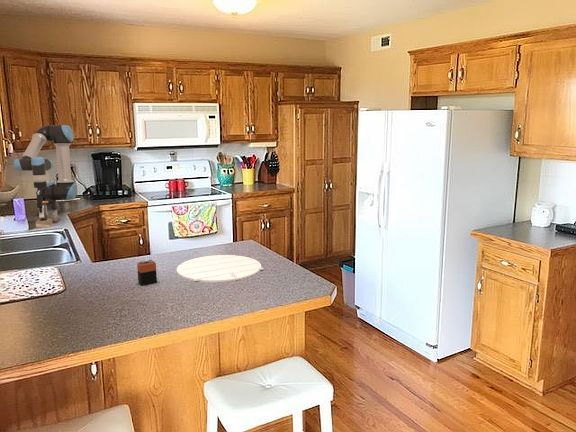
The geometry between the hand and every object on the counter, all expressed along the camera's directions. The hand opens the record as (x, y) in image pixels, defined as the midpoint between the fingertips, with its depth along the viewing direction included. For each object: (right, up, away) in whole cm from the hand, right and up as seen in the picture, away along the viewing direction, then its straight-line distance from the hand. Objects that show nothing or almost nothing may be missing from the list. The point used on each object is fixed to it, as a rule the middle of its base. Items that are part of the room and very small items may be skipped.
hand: (43, 216), depth 310 cm
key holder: (0, -7, +1) cm, 7 cm away
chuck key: (0, -6, +1) cm, 6 cm away
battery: (+100, -29, -108) cm, 150 cm away
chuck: (-3, -4, +15) cm, 16 cm away
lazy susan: (+128, -25, -88) cm, 157 cm away
